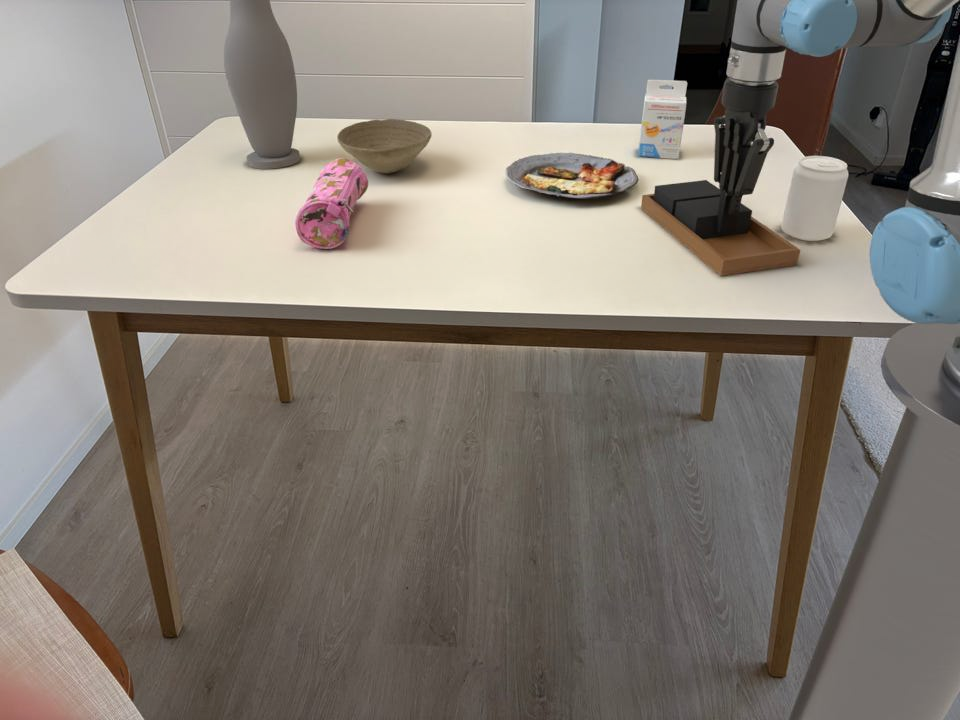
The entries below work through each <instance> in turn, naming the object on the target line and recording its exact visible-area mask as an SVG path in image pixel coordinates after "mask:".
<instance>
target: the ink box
mask: <svg viewBox="0 0 960 720" xmlns="http://www.w3.org/2000/svg"><path fill="white" fill-rule="evenodd" d="M666 85H667V86H669V87H672V89H671V88H660V87H665V86H666ZM687 87H688V82H687V80H672V79H671V80H669V79H648V80H647V81H646V90H645V95H644V99H643V100H644V101H643V109H642V116H641V117H642V118H641V126H640V135H639V143H638V144H639V145H638V157H641V158H656V159H671V160H679V159H680V152H681V145H682V138H683V130H684V124H685V117H686V112H687V111H686V110H687V96H686V94H687Z"/></svg>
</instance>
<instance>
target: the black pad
mask: <svg viewBox="0 0 960 720" xmlns="http://www.w3.org/2000/svg"><path fill="white" fill-rule="evenodd" d="M719 199H720V197H713V198H705V199H697V200H688V201H680V202H676V209H675V216H674V217H675V218H676V219H678V220H679V221H680V222H681V223H683V224H684V225H685V226H686V227H688V228H689V229H690V230H691V231H693V232H694V233H695V234H696V235H698V236H699V237H700V238H701V239H708V238H716V237H723V236H731V235H738V234H746V233H748V230H749V225H750V220H751V216H753V215H752V214H753V210H752V209H751V208H749V207H748V206H747V205H744V204H743V203H742V202H741V205H740V210H739V213H738V216H737V221H736V226H735V231H734V232H727V233H718V232H717V231H716V230H715V226H716V221H717V215H718V209H719Z"/></svg>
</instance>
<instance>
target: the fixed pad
mask: <svg viewBox="0 0 960 720" xmlns="http://www.w3.org/2000/svg"><path fill="white" fill-rule="evenodd" d="M720 193H721V190H720V188H719V187H717V186H716V185H715V184H714V183H711V182H710V181H709V180H708V179H703V180H694V181H687V182H685V181H684V182H677V183H675V182H674V183H668V184H667V183H666V184H660V185H659V184H657V185H655V186H654V191H653V194H654V199H653V200H654V201H655V202H656V203H658V204H659V205H660V206H661V207H663V208H664V209H665V210H666V211H668V212H669V213H670V214H671V215H673V216H675V209H676V202H680V201H688V200H697V199H705V198H713V197H720Z"/></svg>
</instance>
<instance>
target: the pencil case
mask: <svg viewBox="0 0 960 720" xmlns="http://www.w3.org/2000/svg"><path fill="white" fill-rule="evenodd" d="M368 188H369V180H368V176H367V174H366V172H365V171H364V170H363V168H362V167H361V166H360V165H358V164H357V163H355V162H354V161H353V160H350V159H349V158H345V157H341V158H340V157H339V158H336V159H334V160H332V161H330V162H328V163H327V164H325V165H324V167H322V170H321V172H320V173H319V175H318V178H317V179H316V181H315V184H314V185H313V188H312V190H311V192H309V193H310V194H309V196H308V197H307V199H306V201H305V203H304V204H303V205H302V206H301V208H300V209H299V211H298V212H297V215H296V217H295V221H294V222H295V223H294V224H295V225H294V226H295V231H296V233H297V235H298V238H299V239H300V240H301V241H302V243H305V244H306V245H307V246H310V247H312V248H313V247H314V248H315V249H319V250H331V249H335V248H338V247H340V246H341V245H342V244H343V243H344V242H345V241H346V240H347V238H348V235H349V232H350V218H351V216H352V214H355V213H354V209H355V207H356V205H357V202H358V201H359V200H360V199H361V198H362V197H363V196H364V194H365V193H366V192H367V191H368Z"/></svg>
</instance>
